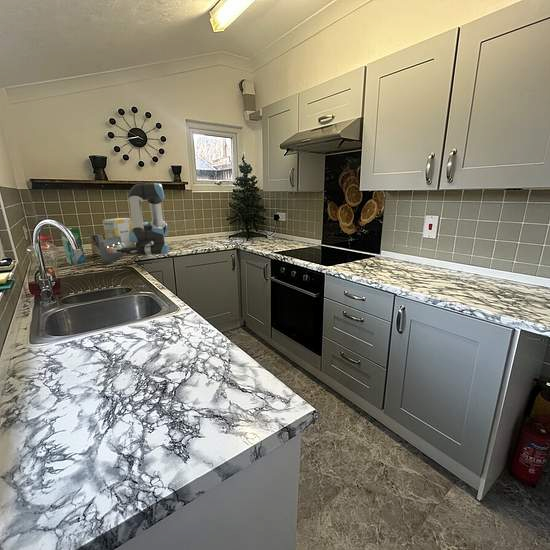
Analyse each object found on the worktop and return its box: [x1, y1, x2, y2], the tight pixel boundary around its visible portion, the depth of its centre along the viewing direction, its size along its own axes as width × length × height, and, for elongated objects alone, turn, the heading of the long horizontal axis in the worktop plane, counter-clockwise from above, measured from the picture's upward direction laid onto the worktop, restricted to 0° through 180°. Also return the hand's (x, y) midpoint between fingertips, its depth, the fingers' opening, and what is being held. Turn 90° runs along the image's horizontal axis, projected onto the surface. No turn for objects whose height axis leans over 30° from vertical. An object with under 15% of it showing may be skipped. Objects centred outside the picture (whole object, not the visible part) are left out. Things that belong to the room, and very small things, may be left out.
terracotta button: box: [107, 247, 114, 254], centre depth 212 cm, size 3×4×4 cm
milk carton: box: [60, 227, 86, 266], centre depth 213 cm, size 9×9×25 cm
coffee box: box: [88, 234, 106, 256], centre depth 241 cm, size 9×6×16 cm
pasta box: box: [102, 217, 136, 255], centre depth 242 cm, size 18×10×28 cm, turn 164°
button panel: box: [95, 236, 125, 265], centre depth 220 cm, size 8×24×16 cm, turn 1°
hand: (113, 250), depth 212 cm, fingers closed
